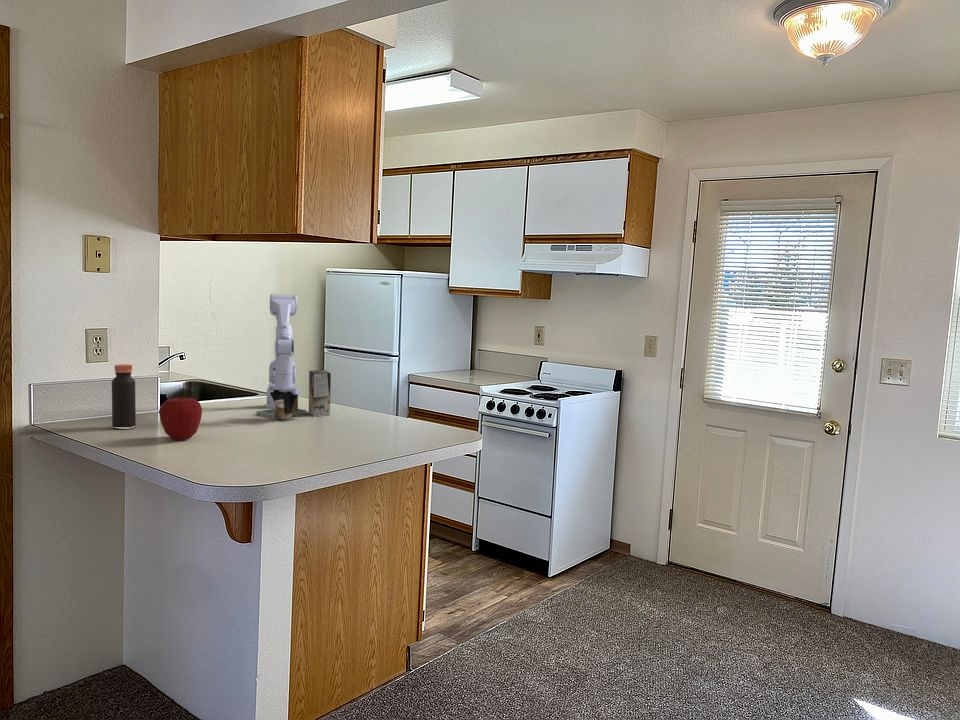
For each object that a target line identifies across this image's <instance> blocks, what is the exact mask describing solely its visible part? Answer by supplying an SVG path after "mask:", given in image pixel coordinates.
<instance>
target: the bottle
mask: <svg viewBox="0 0 960 720" xmlns="http://www.w3.org/2000/svg"><path fill="white" fill-rule="evenodd" d="M132 372H133V366H132V364H126V363H125V364H115V365H114V374H115V377H114V378H113V379H112V380H111V427H112V426H113V427H132V426H135V425H136V426H137V424H136V423H137V417H136V414H137V412H136V380H135V379H134V378H133V377H132Z"/></svg>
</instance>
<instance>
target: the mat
mask: <svg viewBox="0 0 960 720" xmlns="http://www.w3.org/2000/svg"><path fill="white" fill-rule="evenodd" d="M298 420H299V419H298V418H288V419H278V418H269V421H274V422H278V423H286V422H293V421H298Z"/></svg>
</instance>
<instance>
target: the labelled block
mask: <svg viewBox="0 0 960 720" xmlns="http://www.w3.org/2000/svg"><path fill="white" fill-rule="evenodd" d="M274 409H275V418H278V419H288V418H292V412H291V413H290V414H285V407H284V400H277V401H275V408H274ZM275 418H274V419H275Z"/></svg>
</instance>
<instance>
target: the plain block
mask: <svg viewBox="0 0 960 720" xmlns="http://www.w3.org/2000/svg"><path fill="white" fill-rule="evenodd" d="M298 409H299V396H298V397H297V398H296V400H295V402H294V405H293V408H292V412H296V411H298Z"/></svg>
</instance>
